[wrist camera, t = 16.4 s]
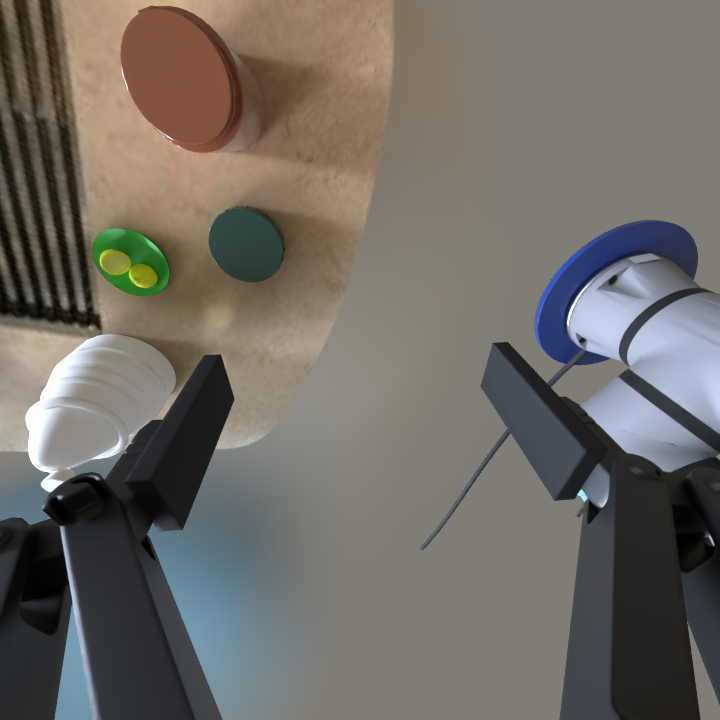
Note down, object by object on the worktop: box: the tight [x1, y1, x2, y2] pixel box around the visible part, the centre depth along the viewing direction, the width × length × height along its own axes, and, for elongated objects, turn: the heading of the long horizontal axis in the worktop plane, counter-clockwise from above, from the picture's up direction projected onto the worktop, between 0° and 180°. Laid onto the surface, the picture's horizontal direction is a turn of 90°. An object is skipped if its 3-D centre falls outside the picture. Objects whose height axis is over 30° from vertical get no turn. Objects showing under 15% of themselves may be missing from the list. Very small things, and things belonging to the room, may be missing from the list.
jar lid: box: [208, 206, 285, 282], centre depth 36 cm, size 8×8×2 cm
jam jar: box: [120, 6, 266, 153], centre depth 25 cm, size 8×8×12 cm
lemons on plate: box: [92, 228, 169, 296], centre depth 35 cm, size 8×8×3 cm
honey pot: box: [26, 334, 176, 492], centre depth 38 cm, size 13×13×18 cm
